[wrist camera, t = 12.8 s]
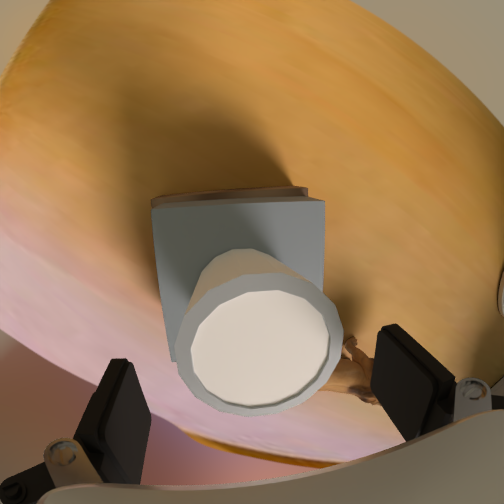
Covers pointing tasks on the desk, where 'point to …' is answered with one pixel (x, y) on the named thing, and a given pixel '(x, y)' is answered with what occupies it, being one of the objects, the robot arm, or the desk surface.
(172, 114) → the desk surface
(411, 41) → the desk surface
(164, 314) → the top block
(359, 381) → the lion figurine
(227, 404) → the beige cup
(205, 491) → the robot arm
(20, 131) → the desk surface
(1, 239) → the desk surface
